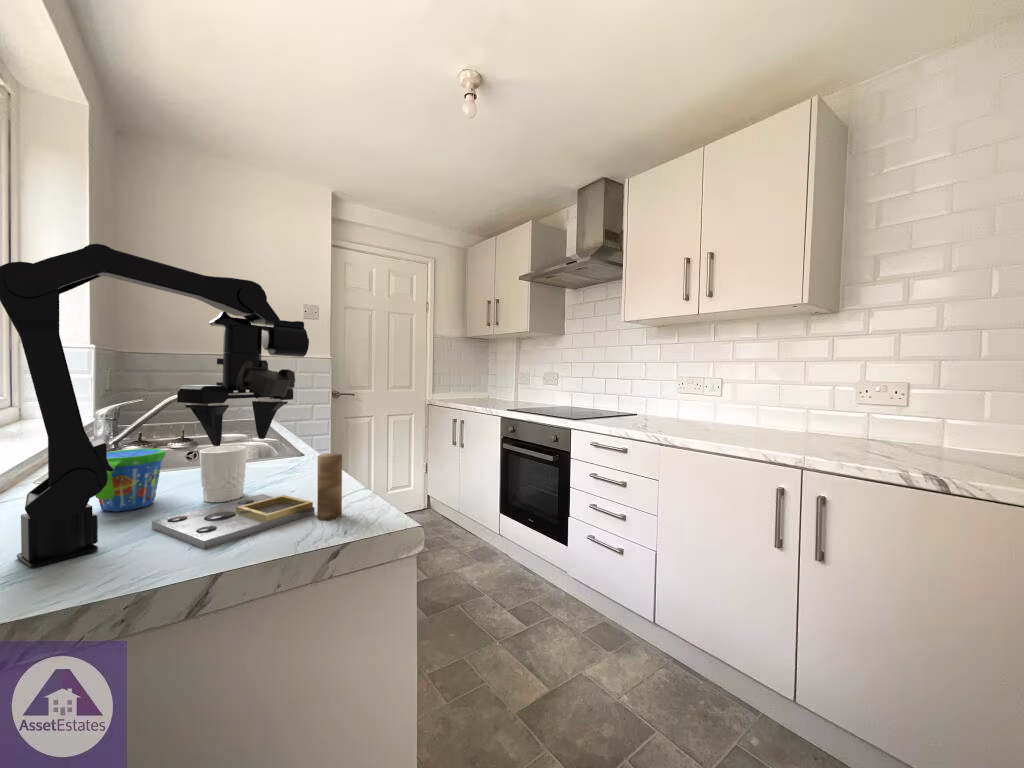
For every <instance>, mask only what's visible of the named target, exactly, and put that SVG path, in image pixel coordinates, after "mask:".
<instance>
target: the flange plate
mask: <svg viewBox="0 0 1024 768" xmlns="http://www.w3.org/2000/svg"><path fill="white" fill-rule="evenodd" d="M312 515H315V507H314V502H313V501H309V500H307V499H306V500H305V499H301V498H298V497H294V496H289V495H286V494H282V495H278V496H270V495H267V494H262V493H261V494H257V495H253V496H250V497H249V496H248V497H246V498H245V497H244V498H242V499H241V498H239V499H235V500H232V501H227V502H223V503H220V504H216V505H212V506H209V507H203V508H201V509H195V510H192V511H188V512H184V513H180V514H176V515H171V516H168V517H163V518H160V519H159V518H158V519H155V520H152V521H151V529H153V530H155V531H157V532H160V533H162V534H165V535H168V536H170V537H172V538H174V539H177V540H180V541H182V542H185V543H187V544H190V545H192V546H195V547H197V548H200V549H202V550H206V549H209V548H212V547H216V546H219V545H221V544H224V543H228V542H231V541H235V540H237V539H241V538H243V537H247V536H250V535H253V534H257V533H259V532H262V531H265V530H269V529H271V528H276V527H279V526H282V525H283V524H287V523H290V522H293V521H296V520H299V519H304V518H306V517H309V516H312Z"/></svg>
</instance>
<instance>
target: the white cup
mask: <svg viewBox="0 0 1024 768" xmlns="http://www.w3.org/2000/svg"><path fill="white" fill-rule="evenodd" d="M247 448H248V447H247V446H244V445H220V446H213V447H210V446H209V447H206V448H203V449H200V450H199V461H200V463H199V465H200V466H199V467H200V468H199V469H200V481H201V488H202V497H203V498H202V499H203V502H206V503H213V502H214V503H215V502H216V503H227V502H232V501H236V500H239V499H241V498H242V497H243V496H244V487H245V481H246V479H245V478H246V468H247V467H246V466H247V465H246V464H247ZM240 497H241V498H240ZM231 500H232V501H231ZM216 503H215V504H216Z"/></svg>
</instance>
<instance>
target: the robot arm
mask: <svg viewBox="0 0 1024 768" xmlns="http://www.w3.org/2000/svg"><path fill="white" fill-rule="evenodd" d="M102 277H107V278H111V279H115V280H119V281H123V282H127V283H131V284H135V285H139V286H143V287H148V288H150V289H155V290H159V291H164V292H168V293H171V294H176V295H180V296H184V297H188V298H190V299H191V298H192V299H195V300H197V301H201V302H203V303H205V304H207V305H209V306H211V307H213V308H215V309H217V310H220V311H222V312H220V313H219V314H218V315H217V316H215V318H213V319H211V320H210V321H209V322H208V324H209V325H210V326H213V327H223V339H222V340H223V345H222V348H223V349H222V350H223V351H222V358H216V365H222V379H221V380H222V382H221V381H217V382H216V385H214V384H213V385H211V384H182V385H181V387H180V388H179V389H178V390H177V392H176V395H177V396H176V398H177V399H176V400H177V401H176V403H182V404H183V403H184V407H185V408H186V409H190V410H191V412H192V413H193V414H194V415H195V417H196V418H197V420H198V421H199V423H200V425H201V426H202V428H203V430H204V431H205V434H206V435H207V437H208V439H209V440H210V444H211V445H212V446H213V447H218V446H221V443H222V437H223V436H222V435H223V434H222V433H223V418H224V417H223V416H224V414H225V412H226V411H227V410H228V408H229V407H230V405H229V404H224V403H225V402H227V400H232V399H234V400H235V399H256V400H252V401H251V405H252V410H253V418H254V422H255V430H256V434H257V438H258V439H259V440H264V439H265V438H266V437H267V434H268V432H269V430H270V427H271V424H272V422H273V420H274V417H275V415H276V414H277V412H278V410H279V409H281V408H282V407H283V406H284V405H287V404H288V403H289V401H290V400H292V401H293V400H294V389H293V388H295V383H296V375H295V371H293V370H291V369H289V368H287V369H286V368H285V369H283V368H282V369H280V370H279V371H274V370H271V369H269V363H268V360H265V359H262V351H263V350H265V351H267V352H268V354H269V356H277V357H278V356H279V357H294V358H295V357H296V358H304V357H306V355H307V353H308V351H309V347H310V346H309V345H310V339H309V336H308V332H307V329H306V328H305V322H304V321H301V320H300V321H299V320H293V321H290V320H284V319H283V320H282V319H280V318H279V315H278V314H277V312H275V310H274V309H273V307H272V306H271V305H270V303H269V302H268V301H267V298H268V297H267V294H266V291H265V290H264V289H263V287H262V285H260V284H259V283H258V282H255V281H253V280H249V279H242V278H235V277H227V276H226V277H225V276H211V275H204V274H201V273H198V272H194V271H190V270H187V269H183V268H179V267H176V266H174V265H169V264H166V263H162V262H158V261H155V260H153V259H148V258H144V257H141V256H137V255H133V254H130V253H127V252H124V251H122V250H121V251H120V250H116V249H114V248H112V247H110V246H108V245H105V244H102V243H101V244H100V243H90V244H87V245H85V246H84V247H82V248H80V249H76V250H73V251H69V252H66V253H62V254H59V255H54V256H51V257H48V258H45V259H42V260H39V261H36V262H33V263H32V262H27V261H11V262H8V263H5V264H2V265H0V304H1V305H2V307H3V308H4V310H5V312H6V314H7V316H8V317H9V320H10V321H11V323H12V325H13V327H14V328H15V330H16V332H17V334H18V336H19V337H20V341H21V345H22V349H23V352H24V355H25V359H26V362H27V366H28V370H29V374H30V377H31V378H30V379H31V380H32V385H33V388H34V391H35V395H36V399H37V402H38V407H39V410H40V413H41V417H42V420H43V425H44V427H45V428H44V429H45V431H46V435H47V460H48V461H47V466H48V467H47V470H48V471H47V476H48V477H47V478H45V480H43V481H42V482H41V483H39V484H37V486H36V487H34V488H33V489H31V491H29V492H28V493H27V494H26V498H25V505H24V510H25V512H26V513H23V514H22V513H21V515H20V545H21V549H20V550H21V552H19V553H17V554H16V558H17V559H18V560H20V561H21V562H22V563H24V564H25V565H27V566H28V567H29V568H38V567H41V566H44V565H48V564H52V563H55V562H56V563H57V562H61V561H63V560H66V559H71V558H75V557H78V556H82V555H86V554H89V553H93V552H97V551H98V550H99V546H97V545H96V544H97V543H98V540H99V539H98V537H99V536H98V532H99V531H98V530H99V529H98V525H99V524H98V515H97V514H94V513H93V505H91V504H89V502H90V499H91V498H94V497H96V496H95V495H96V494H98V493H99V492H101V490H102V489H103V488H104V487H105V486H106V484H107V481H108V474H107V471H113V468H112V467H111V465H110V463H109V462H108V461H107V452H108V449H107V443H106V441H104V439H103V438H99V439H96V440H94V441H93V440H92V441H91V440H90V438H89V437H88V434H87V433H86V431H85V428H84V423H83V420H82V416H81V412H80V409H79V404H78V401H77V398H76V397H77V395H76V393H75V389H74V386H73V382H72V378H71V373H70V370H69V366H68V363H67V359H66V354H65V352H64V351H65V350H64V346H63V343H62V340H61V339H62V338H61V336H60V294H64V293H66V292H69V291H72V290H73V289H76V288H78V287H80V286H83V285H85V284H87V283H90V282H91V281H94V280H96V279H98V278H102ZM229 314H230V315H232V316H235V317H232V316H230V315H229ZM262 349H263V350H262ZM247 390H248V391H247ZM286 400H287V401H286Z"/></svg>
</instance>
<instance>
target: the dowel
mask: <svg viewBox="0 0 1024 768" xmlns="http://www.w3.org/2000/svg"><path fill="white" fill-rule="evenodd" d="M342 484H343V454H342V453H335V452H334V453H332V452H331V453H322V454H319V455H317V501H316V502H317V512H316V514H317V518H316V519H317V520H319V521H324V520H326V521H333V520H332V519H334V520H337V519H336V518H338V517H340V516H341V515H343V513H342V512H343V509H342V508H343V506H342V505H343V503H342V502H343V491H342V490H343V485H342ZM341 517H342V516H341ZM341 517H340V518H341ZM338 519H339V518H338Z"/></svg>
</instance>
